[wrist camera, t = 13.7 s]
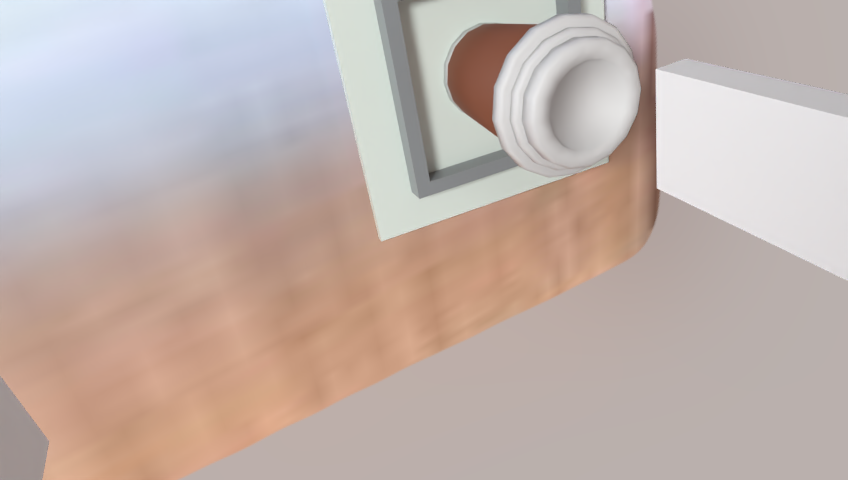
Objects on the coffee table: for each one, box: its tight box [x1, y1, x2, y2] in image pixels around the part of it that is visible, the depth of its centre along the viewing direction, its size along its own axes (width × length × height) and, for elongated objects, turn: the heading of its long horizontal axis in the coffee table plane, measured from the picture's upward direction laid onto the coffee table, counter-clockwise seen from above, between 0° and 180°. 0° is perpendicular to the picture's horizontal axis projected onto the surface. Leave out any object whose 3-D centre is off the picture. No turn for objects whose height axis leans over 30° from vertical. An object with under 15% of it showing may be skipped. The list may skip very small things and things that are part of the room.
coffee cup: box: [444, 13, 641, 178], centre depth 38 cm, size 9×9×12 cm
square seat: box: [323, 0, 609, 241], centre depth 43 cm, size 20×20×2 cm
